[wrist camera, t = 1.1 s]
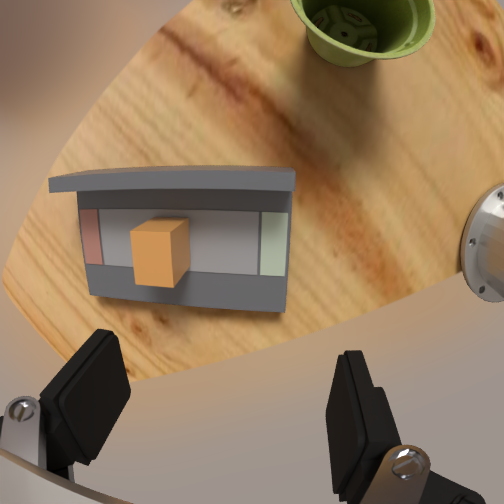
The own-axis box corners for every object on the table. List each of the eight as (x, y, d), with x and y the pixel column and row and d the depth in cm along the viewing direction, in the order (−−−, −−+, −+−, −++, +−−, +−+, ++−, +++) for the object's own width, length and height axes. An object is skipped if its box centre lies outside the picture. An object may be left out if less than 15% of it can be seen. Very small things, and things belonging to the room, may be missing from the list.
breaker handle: (188, 217, 25) (169, 232, 21) (190, 265, 26) (173, 287, 22) (153, 217, 25) (130, 231, 21) (157, 263, 26) (135, 284, 22)
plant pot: (267, 54, 22) (260, 13, 14) (313, -23, 19) (322, -77, 11) (369, 105, 23) (408, 88, 15) (407, 25, 20) (449, -11, 12)
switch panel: (292, 167, 25) (295, 172, 19) (285, 301, 29) (285, 338, 23) (87, 170, 27) (48, 178, 21) (99, 286, 30) (68, 313, 25)
